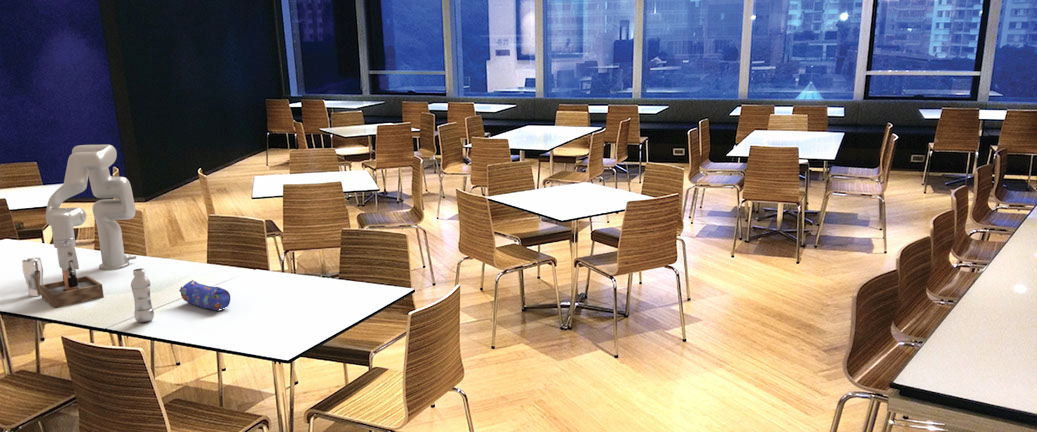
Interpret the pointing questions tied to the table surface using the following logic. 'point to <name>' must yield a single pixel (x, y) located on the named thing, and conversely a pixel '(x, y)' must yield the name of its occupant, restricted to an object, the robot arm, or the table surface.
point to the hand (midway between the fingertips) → (70, 284)
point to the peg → (67, 281)
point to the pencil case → (205, 295)
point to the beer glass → (33, 275)
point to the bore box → (71, 292)
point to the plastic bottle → (142, 296)
